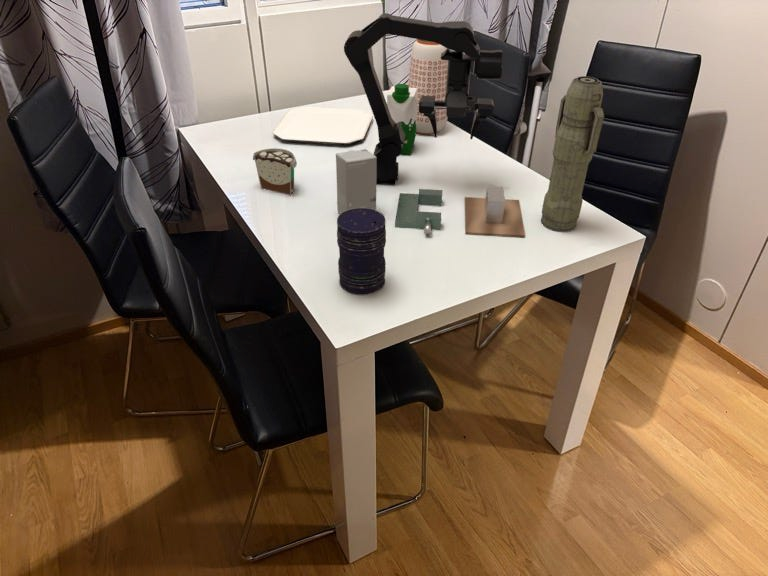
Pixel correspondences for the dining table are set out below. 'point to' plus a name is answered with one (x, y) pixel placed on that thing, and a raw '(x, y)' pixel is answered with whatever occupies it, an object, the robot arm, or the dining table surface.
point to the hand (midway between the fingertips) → (453, 138)
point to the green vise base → (417, 219)
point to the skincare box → (356, 180)
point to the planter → (428, 80)
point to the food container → (276, 170)
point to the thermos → (573, 152)
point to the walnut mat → (508, 228)
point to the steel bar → (494, 204)
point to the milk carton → (404, 112)
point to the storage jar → (361, 250)
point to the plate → (324, 125)
